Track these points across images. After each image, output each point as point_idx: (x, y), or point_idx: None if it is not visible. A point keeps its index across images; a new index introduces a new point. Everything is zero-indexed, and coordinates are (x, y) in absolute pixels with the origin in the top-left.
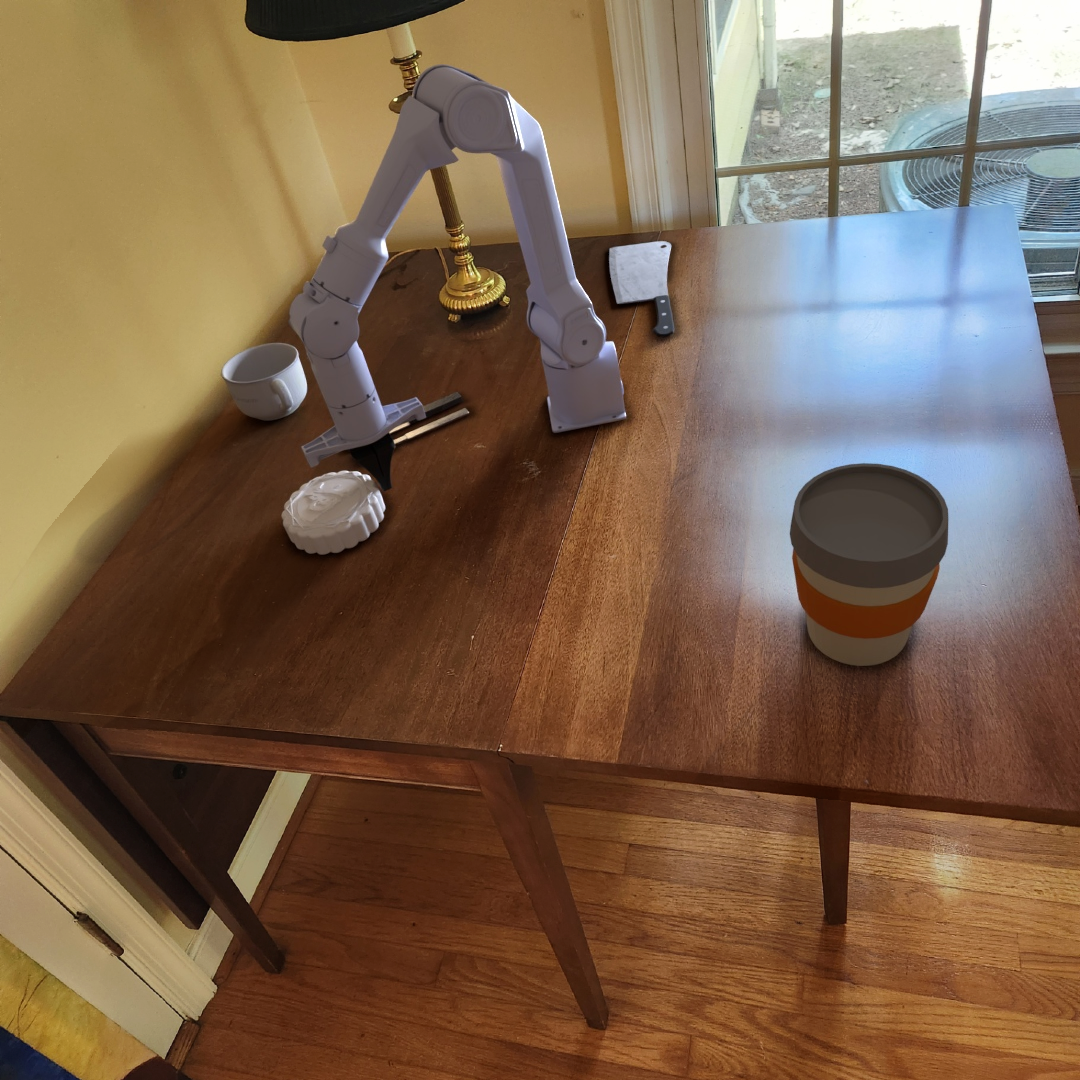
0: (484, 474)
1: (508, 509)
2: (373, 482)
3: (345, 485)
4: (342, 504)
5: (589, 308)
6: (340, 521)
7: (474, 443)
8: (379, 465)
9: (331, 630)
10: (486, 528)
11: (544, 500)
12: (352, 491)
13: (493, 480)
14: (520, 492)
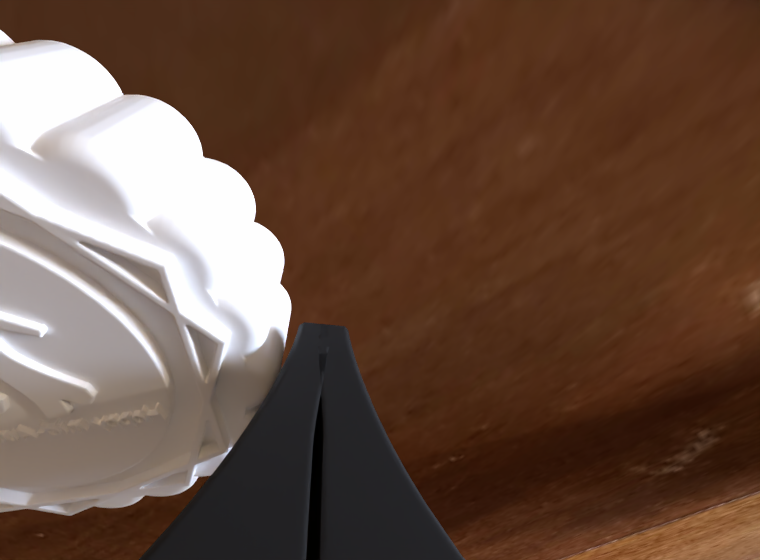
0: (613, 406)
1: (525, 506)
2: (261, 393)
3: (87, 350)
4: (49, 448)
5: None
6: (30, 507)
7: None
8: (307, 540)
9: (11, 551)
10: (449, 518)
11: (588, 520)
12: (122, 418)
13: (600, 434)
14: (588, 488)
